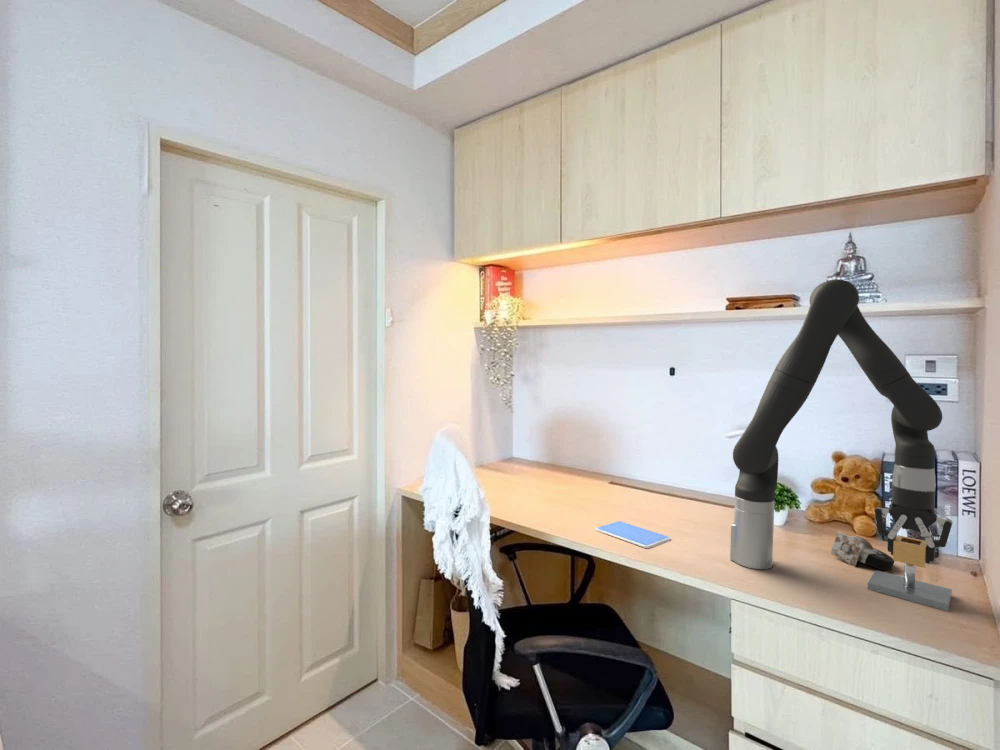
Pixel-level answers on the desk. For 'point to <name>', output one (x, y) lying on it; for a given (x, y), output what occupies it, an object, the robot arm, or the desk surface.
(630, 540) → the tablet computer
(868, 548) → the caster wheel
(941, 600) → the post block
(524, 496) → the desk surface
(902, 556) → the tan slotted block
